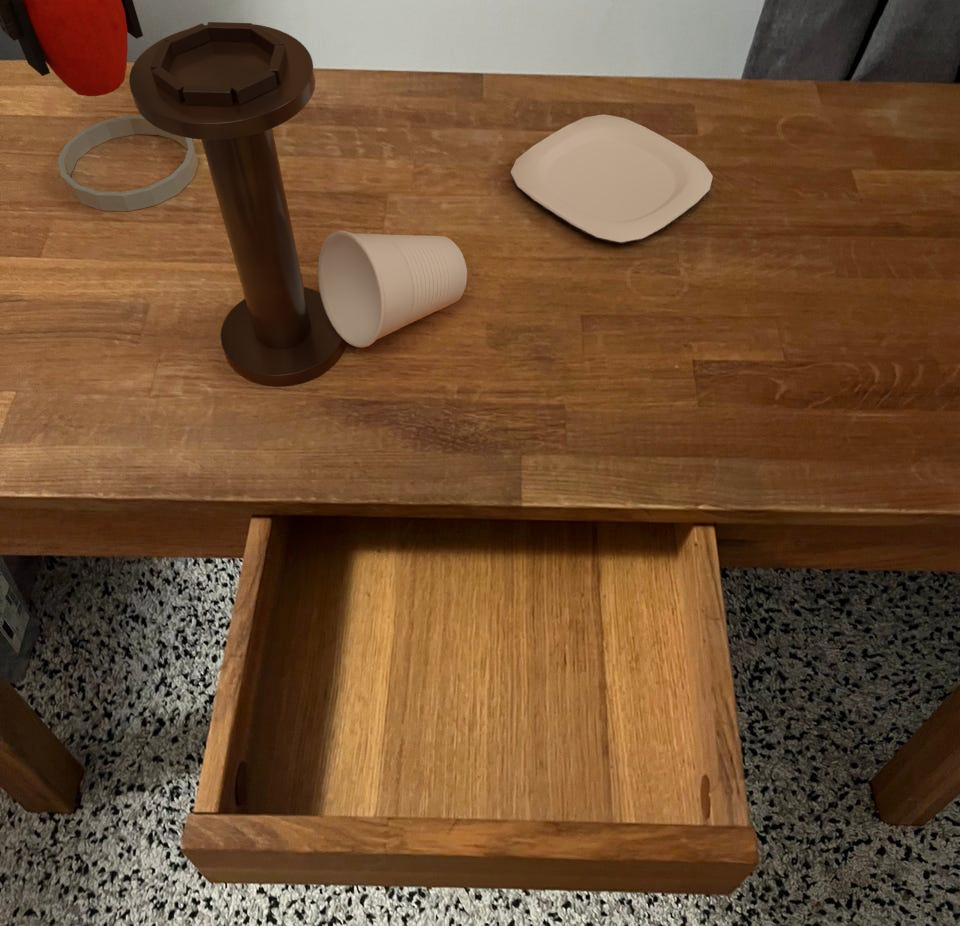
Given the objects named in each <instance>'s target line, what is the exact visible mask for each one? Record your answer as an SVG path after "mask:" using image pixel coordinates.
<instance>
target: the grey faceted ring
mask: <svg viewBox="0 0 960 926" xmlns="http://www.w3.org/2000/svg"><path fill="white" fill-rule="evenodd" d="M133 135H149V136H150V135H151V136H152V135H153V136H154V135H155V136H156V135H157V136H160V137H163V138H167V139H169V140H172V141H176V142H177V143H178V144H180V145H181V146H182V147H183V148H185V150H187V151H186V154H185V157H184V160H183V162H182V163H181V164H180V165H179V166H178V167H177V168H176V169H175V170H174V171H173V172H172V173H171V174H170V175H169V176H167V177H165V178H163V179H160V180H159V181H157V182H155V183H153V184H150V185H148V186H144V187H140V188H135V189H130V190H126V191H110V190H109V191H107V190H103V191H102V190H96V189H93V188H90V187H88V186H84V185H81V184H78V182H76V181H75V180H74V179H73V178H72V177H71V175H72V173H73V171H74V168H75V167H76V164H77V162H78V161H79V160H80V159H81V158H82V157H83V156H85V154H86V153H88V152H89V151H90V150H91V149H93V148H95V147H97V146H100V145H102V144H105V143H106V142H108V141H110V140H112V139H118V138H123V137H128V136H133ZM57 164H58V170H59V175H60V177H61V180H62V182H63V184H64V186H65V189H66V191H67V192H68V193H69V194H70V195H71V196H72V197H73V198H74V199H75V200H76V201H78V202H79V203H80V204H81V205H83V206H87V207H90V208H93V209H97V210H99V211H102V212H133V211H137V210H141V209H147V208H150V207H151V208H152V207H154V206H158V205H160V204H161V203H163V202H165V201H168V200H169V199H171V198H174V197H175V196H177V195H179V194H180V193H181V192H183V190H184V189H185V188H186V187H187V186H189V184H190V183H191V182H192V181H193V180H194V179H195V175H196V173H197V169H198V167H199V160H198V156H197V153H196V149H195V146H194V143H193V140H192V138H186V137H181V136H177V135H174V134H171V133H168V132H165V131H163V130H161V129H159V128H157V127H155V126H154V125H152V124H151V123H149V122H148V121H147V120H146V119H145V118H144V117H143V116H142V115H139V114H138V115H136V114H135V115H134V114H128V115H124V116H119V117H114V118H108V119H104V120H101V121H100V122H97V123H95V124H92V125H90V126H88V127H87V128H83V129H81V130H80V131H78V132H77V134H75V135H74V136H73V137H72V138H71V139H69V140H68V141H67V142H65V143H64V145H63V148H62V149H61V152H60V154H59V155H58V158H57Z"/></svg>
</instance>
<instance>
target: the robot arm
mask: <svg viewBox="0 0 960 926" xmlns="http://www.w3.org/2000/svg"><path fill="white" fill-rule="evenodd" d="M121 1H122V4H123V7H124V10H125V17H126V24H127V34H129V35H131V36H132V37H133V38H135V39H136V40H137V39H140V38H142V37H144V34H143V30H142V27H141V24H140V20H139V17H138V13H137V10H136V7H135V3H134V0H121ZM0 28H1V31H3V33H4V34H5V35H6V36H7V37H9V38H10V39H11V40H13V41H18V43H19V45H20V49H21V50H22V53H23V55H24V58H25V60H26V63H27V65H29V66H30V67H31V68H32V69H33V70H35V71H36V72H37V73H38V74H40V75H41V76H42V77H44V76H46V75H50V74H51V71H50V68H49V65H48V64H47V63H46V61H45V59H44V56H43V54H42V51H41V48H40V46H39V43H38V41H37V38H36V36H35V33H34V31H33V28H32V26H31V23H30V21H29V18H28V16H27V13H26V11H25V8H24V6H23V3H22V1H21V0H0Z"/></svg>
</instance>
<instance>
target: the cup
mask: <svg viewBox="0 0 960 926" xmlns="http://www.w3.org/2000/svg"><path fill="white" fill-rule="evenodd" d="M318 255H319V256H318V260H317V282H318V285H317V286H318V289H319V290H318V291H319V292H320V296H321V299H322V303H323V306H324V309H325V311H326V314H327V316H328V318H329V320H330V322H331V324H332V326H333V327H334V329H335V330H336V332H337V333H338V334H339V335H340V336H341V337H342V338H343V339H344V340H345V341H346V344H349V345H351V346H353V347H355V348H362V349H363V348H366V347H367V348H368V347H370V346H371V345H372V344H374V343H375V342H376V341H377V340H379V339H381V338H383V337H386V336H387V335H389V334H392V333H393V332H396V331H398V330H400V329H402V328H404V327H406V326H408V325H410V324H412V323H414V322H417V321H418V320H421V319H422V318H425V317H427V316H429V315H431V314H433V313H435V312H438V311H440V310H442V309H444V308H447V307H449V306H451V305H453V304H455V303H457V302H459V300H460V299H461V298H462V297H463V295H464V293H465V291H466V287H467V283H468V269H467V268H468V267H467V263H466V260H465V257H464V255H463V252H462V251H461V248H460V247H458V245H457V244H456V243H455V242H454V241H453V240H452V239H451V238H450V237H449V238H448V237H447V236H444V235H425V234H424V235H419V234H418V235H416V234H415V235H414V234H413V235H412V234H384V233H383V234H381V233H357V232H356V233H353V232H350V231H346V230H336V231H334V232H331V233H330V234H329V235H328V236H327V237H326V238H325V239H324V241H323V243H322V244H321V248H320V250H319V254H318Z"/></svg>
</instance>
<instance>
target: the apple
mask: <svg viewBox="0 0 960 926" xmlns="http://www.w3.org/2000/svg"><path fill="white" fill-rule="evenodd" d="M21 1H22V3H23V6H24V8H25V11H26V13H27V16H28V18H29V21H30V23H31V26H32V28H33V31H34V33H35V36H36V38H37V41H38V43H39V46H40V48H41V51H42V54H43V56H44V59H45V61H46V64H47V66H48V67H49V69H50V70H52V72H53V73H54V74H55V75H56V76H57V77H58V78H59V80H60V81H61V82H62V83H63V84H64V85H65V86H67V87H68V88H69V89H70V90H71V91H73V92H74V93H76V94H77V95H78V96H82V97H83V96H84V97H99V96H104V95H108V94H110V93H113V92H115V91H117V90H118V89H119V88H120V87H121V86H122V84H123V83H124V82H125V79H126V74H127V73H126V72H127V67H128V66H127V65H128V52H129V50H128V48H129V47H128V45H129V44H128V32H127V24H126V17H125V10H124V7H123V4H122V1H121V0H21Z"/></svg>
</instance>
